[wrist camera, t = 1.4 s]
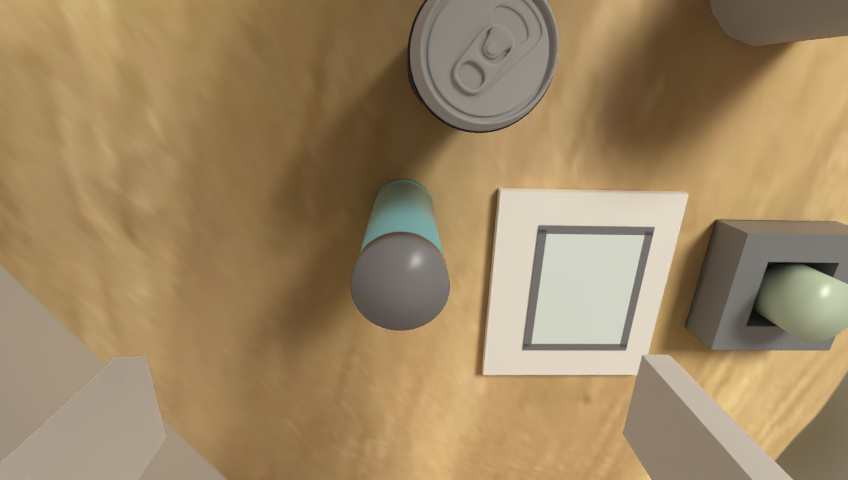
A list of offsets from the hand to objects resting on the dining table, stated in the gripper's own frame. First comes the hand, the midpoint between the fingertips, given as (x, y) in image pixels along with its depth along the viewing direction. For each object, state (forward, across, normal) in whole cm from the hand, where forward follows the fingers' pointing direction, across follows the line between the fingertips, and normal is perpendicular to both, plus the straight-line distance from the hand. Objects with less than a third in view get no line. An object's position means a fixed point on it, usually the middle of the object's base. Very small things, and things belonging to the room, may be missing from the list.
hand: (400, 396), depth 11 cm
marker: (+18, 0, 0) cm, 19 cm away
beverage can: (+19, +3, +9) cm, 21 cm away
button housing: (+18, +27, -5) cm, 33 cm away
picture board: (+18, +13, -6) cm, 23 cm away
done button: (+16, +27, -5) cm, 32 cm away
